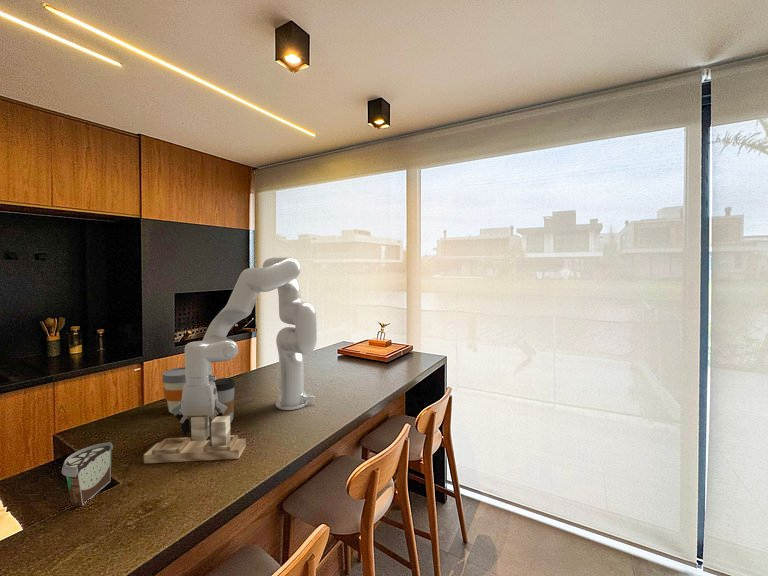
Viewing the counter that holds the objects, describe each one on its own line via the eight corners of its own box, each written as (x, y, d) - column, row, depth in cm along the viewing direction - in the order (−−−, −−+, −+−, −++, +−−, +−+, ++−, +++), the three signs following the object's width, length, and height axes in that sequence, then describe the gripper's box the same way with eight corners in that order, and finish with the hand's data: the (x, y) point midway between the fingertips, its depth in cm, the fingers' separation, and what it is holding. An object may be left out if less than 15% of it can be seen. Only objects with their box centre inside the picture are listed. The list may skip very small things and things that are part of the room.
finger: (197, 435, 115) (197, 411, 115) (210, 434, 116) (209, 411, 115) (191, 442, 111) (190, 417, 110) (204, 441, 111) (203, 417, 111)
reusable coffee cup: (183, 416, 130) (182, 377, 129) (155, 413, 132) (153, 375, 131) (207, 403, 142) (206, 367, 141) (180, 401, 144) (179, 365, 144)
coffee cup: (241, 418, 128) (240, 378, 127) (223, 428, 120) (222, 386, 119) (223, 415, 131) (222, 376, 130) (205, 425, 123) (203, 383, 122)
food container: (89, 479, 91) (87, 442, 91) (114, 478, 92) (112, 441, 91) (48, 512, 79) (46, 469, 79) (77, 510, 80) (75, 468, 79)
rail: (245, 446, 108) (245, 413, 108) (238, 458, 101) (237, 423, 101) (157, 450, 106) (156, 416, 105) (143, 463, 99) (142, 427, 98)
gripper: (230, 375, 117) (232, 426, 118) (176, 377, 115) (178, 428, 116) (222, 383, 109) (224, 437, 110) (164, 384, 107) (166, 439, 108)
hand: (200, 432), depth 113 cm, fingers open, 8 cm apart
